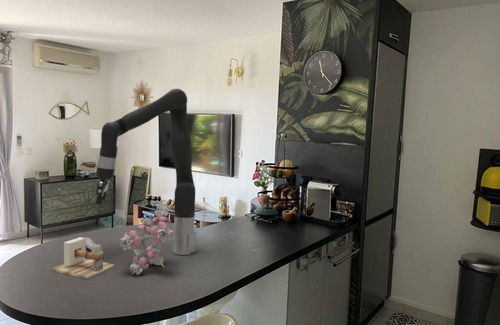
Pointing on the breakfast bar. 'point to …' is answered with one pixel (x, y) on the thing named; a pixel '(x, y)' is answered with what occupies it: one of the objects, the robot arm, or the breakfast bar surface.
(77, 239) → the collar
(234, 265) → the breakfast bar surface
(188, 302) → the breakfast bar surface
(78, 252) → the pipe rig
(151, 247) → the flower
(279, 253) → the breakfast bar surface
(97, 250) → the light grey long piece
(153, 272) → the breakfast bar surface
